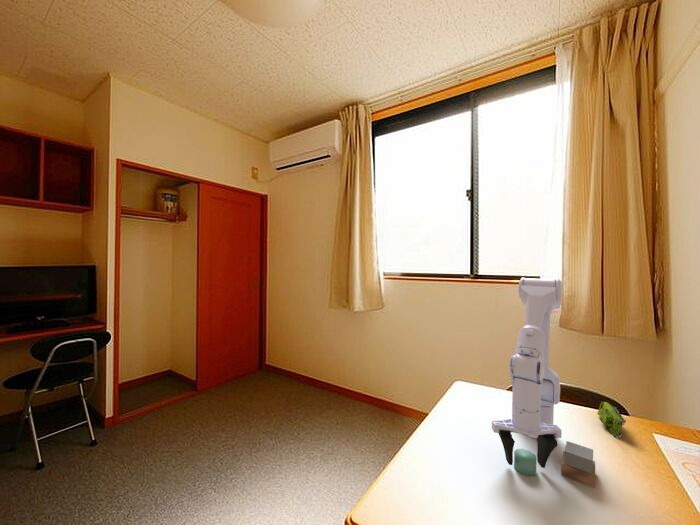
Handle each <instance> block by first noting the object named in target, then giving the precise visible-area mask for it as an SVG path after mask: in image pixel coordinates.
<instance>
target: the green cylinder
mask: <svg viewBox="0 0 700 525" xmlns="http://www.w3.org/2000/svg"><path fill="white" fill-rule="evenodd" d="M513 467H514V470H515V471H516V472H517V473H519V474H521V475H522V476H524V477H530V478H531V477H535V476H536V475H537V455H536V454H534V453H533V452H532V451H530V450H528V449H525V448H515V450H513Z"/></svg>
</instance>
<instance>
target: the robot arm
mask: <svg viewBox="0 0 700 525" xmlns="http://www.w3.org/2000/svg"><path fill="white" fill-rule="evenodd" d="M562 284H563V283H562V281H561V279H559V278H556V279H553V278H547V279H546V278H535V277H534V278H533V277H532V278H529V277H527V278H526V277H521V278H520V280H519V283H518V296H519V298H520V300H521V302H522V304H523V305H524V306H525V320H524V326H523V327H521V328H520V329H519V330H518V334H517V338H516V339H517V340H516V346H515V350H514V354H512V355H510V356H511V357H510V359H509V374H510V385H511V386H512V391H511V392H512V393H511V394H512V399H511V401H512V402H511V404H512V405H511V418H506V419H499V420H498V419H497V420H495V419H493V420H491V430H492V431H493V433H496V434H498V437H499V438H500V440H501V443H502V446H503V449H504V450H503V451H504V454H505V461H506V463H508V465H510V466H513V465H514V446H515V442H516V441H515V439H514V438H513V434H512V433H515V434H523V435H526V436H528V437H529V438H535V439H536V444H537V445H536V446H537V449H536V450H537V451H536V452H537V453H536V462H537V463H538V464H539V466H540V467H541V468H542V469H545V468H546V465H547V463H548V460H549V457H550V455H551V454H552V452H553V451H554V450H555V449H556V448H557V447H558V440H557V439H556V438H559V439H562V429H561V427H559V426H558V425H557V424H554V413H555V412H554V410H555V409H554V408H555V407H554V405H558V404H560V400H561V399H560V397H561V378H560V376H559V374H558V373H557V372H555V371H554V370H553V369H552V368H551V367H550V365H549V364H550V363H549V360H550V358H549V357H550V336H551V335H550V333H551V315H552V313H553V311H554V310H556V309H560V308H561V306H562V296H563V295H562V294H563V293H562V292H563V285H562Z"/></svg>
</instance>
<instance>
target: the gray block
mask: <svg viewBox="0 0 700 525" xmlns="http://www.w3.org/2000/svg"><path fill="white" fill-rule="evenodd" d="M564 447H565V448H564V450H563V451H564V464H566V465H569V466H571V467H574V468H577V469H579V470H582V471H585V472H587V473H590V474H592V470H593V461H594V449H593V448H589V447H586V446H583V445H580V444H577V443H573V442H571V441H568V440H566V443H565V446H564Z"/></svg>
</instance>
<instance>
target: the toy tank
mask: <svg viewBox="0 0 700 525" xmlns="http://www.w3.org/2000/svg"><path fill="white" fill-rule="evenodd" d="M597 416H598V417H599V418H598V419H599V420H600V422H601V423H602V424H603V425H604V427H606V428H607V429H608V431H609V433H611V434H612V436H613V437H615V438H617V439H620V438H621V437H622V435H623V434H622V432H621V431H622V428H623V426H625V424H626V421H627V420H626V419H625V418H624V417H623V416H622V414H621V413H620V412H619V410H618V409H617V407H615V406H613V405H612V404H610V403H609V402H607V401H600V404H599V408H598V410H597Z"/></svg>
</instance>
